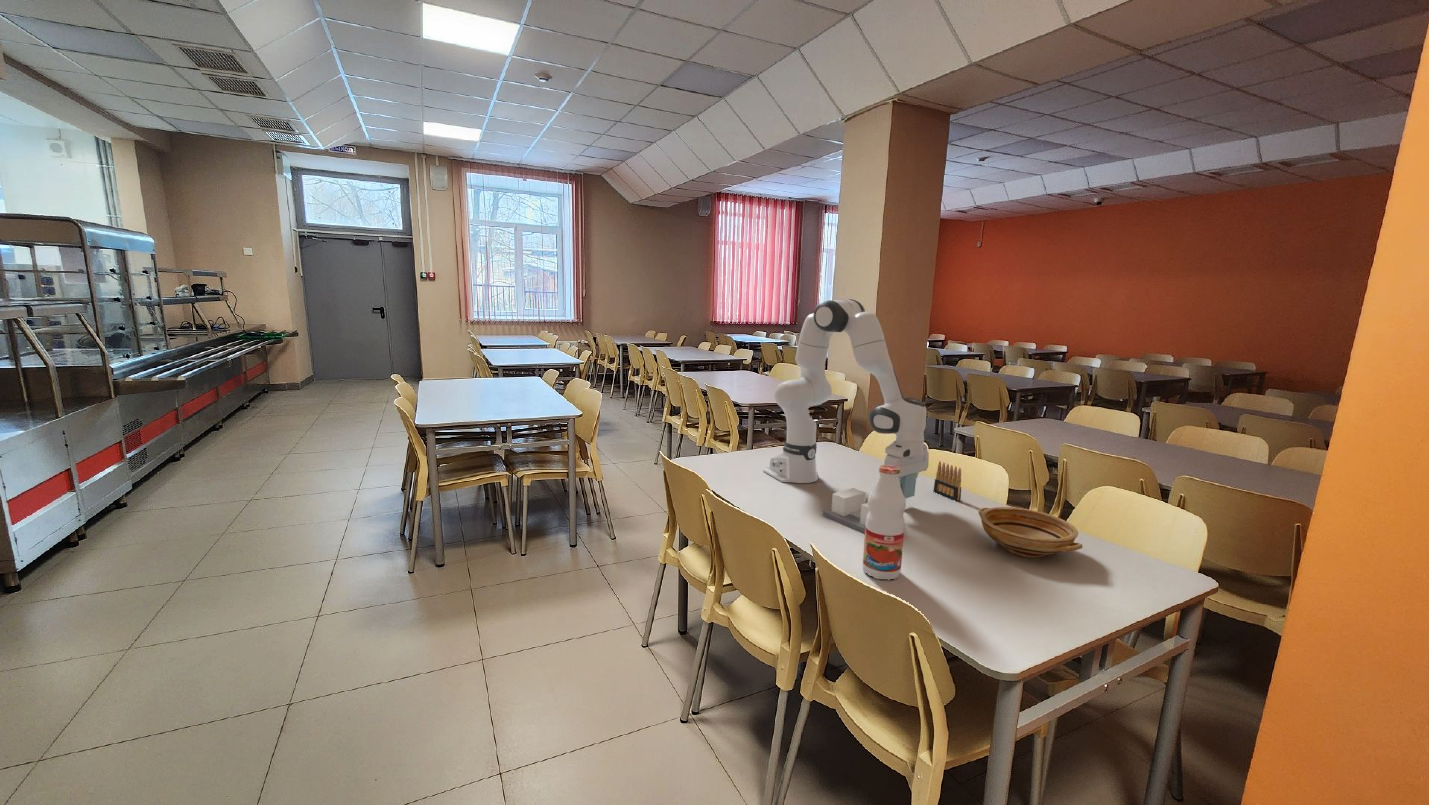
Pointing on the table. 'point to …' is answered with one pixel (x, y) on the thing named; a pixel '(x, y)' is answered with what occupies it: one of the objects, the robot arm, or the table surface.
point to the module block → (908, 485)
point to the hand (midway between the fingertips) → (904, 486)
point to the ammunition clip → (948, 482)
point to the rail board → (849, 509)
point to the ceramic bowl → (1029, 531)
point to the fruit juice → (885, 526)
